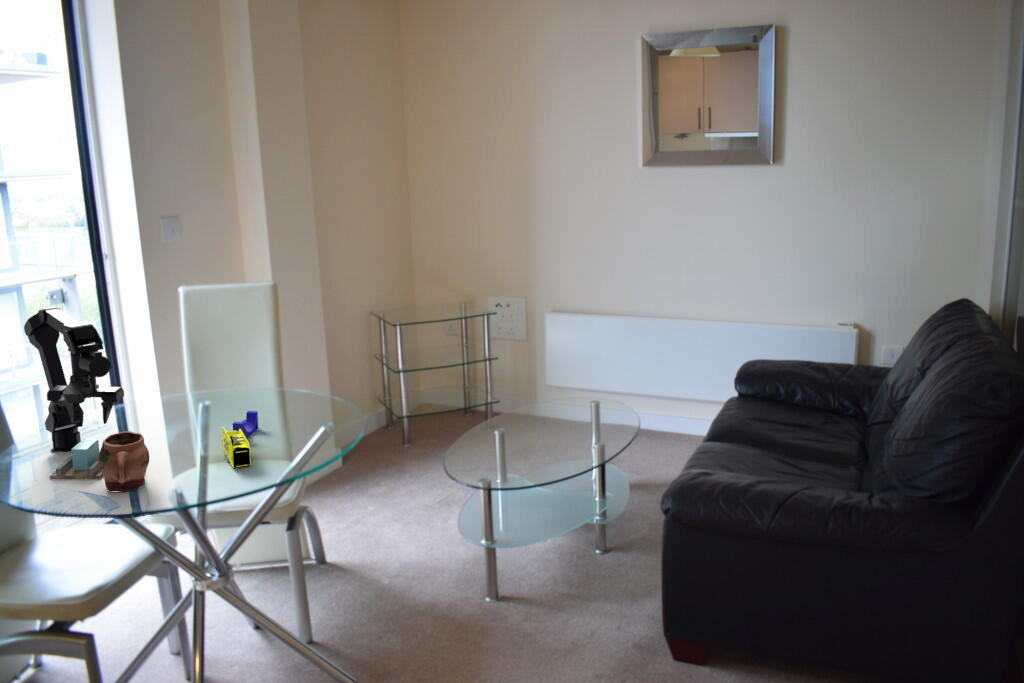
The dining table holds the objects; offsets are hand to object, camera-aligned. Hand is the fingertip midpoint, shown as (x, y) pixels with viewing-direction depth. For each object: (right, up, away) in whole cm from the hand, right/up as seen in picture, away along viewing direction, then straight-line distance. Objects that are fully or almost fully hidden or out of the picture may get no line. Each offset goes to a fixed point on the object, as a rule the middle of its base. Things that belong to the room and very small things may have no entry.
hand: (88, 423), depth 241 cm
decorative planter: (+16, -16, -13) cm, 27 cm away
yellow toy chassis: (+38, -11, +8) cm, 41 cm away
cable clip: (+35, -7, +28) cm, 45 cm away
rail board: (0, -12, -1) cm, 12 cm away
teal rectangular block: (0, -11, -1) cm, 11 cm away
